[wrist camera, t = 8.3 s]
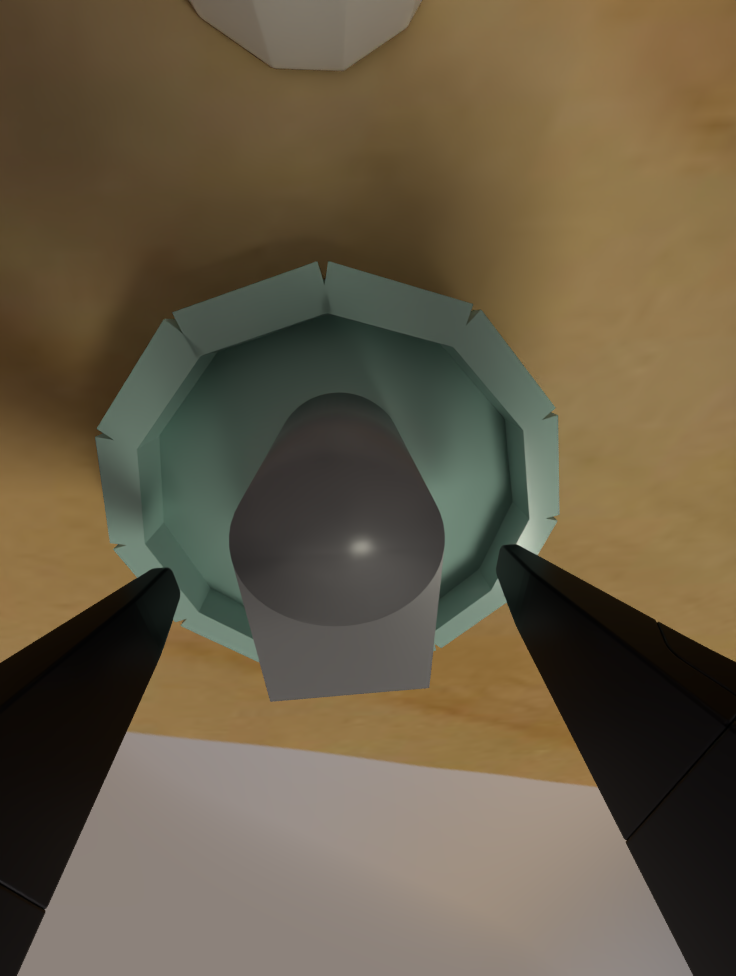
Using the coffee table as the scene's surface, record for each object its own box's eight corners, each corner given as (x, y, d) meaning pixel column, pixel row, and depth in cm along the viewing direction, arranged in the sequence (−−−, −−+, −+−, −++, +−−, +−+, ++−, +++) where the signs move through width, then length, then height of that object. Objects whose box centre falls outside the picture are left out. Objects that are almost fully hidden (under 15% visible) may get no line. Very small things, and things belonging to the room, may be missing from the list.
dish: (316, 133, 7) (309, 83, 6) (597, 488, 12) (634, 512, 11) (65, 520, 11) (21, 551, 10) (354, 669, 17) (356, 707, 15)
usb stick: (268, 394, 9) (203, 458, 5) (403, 390, 10) (455, 446, 5) (302, 603, 13) (282, 743, 9) (397, 597, 14) (424, 730, 9)
